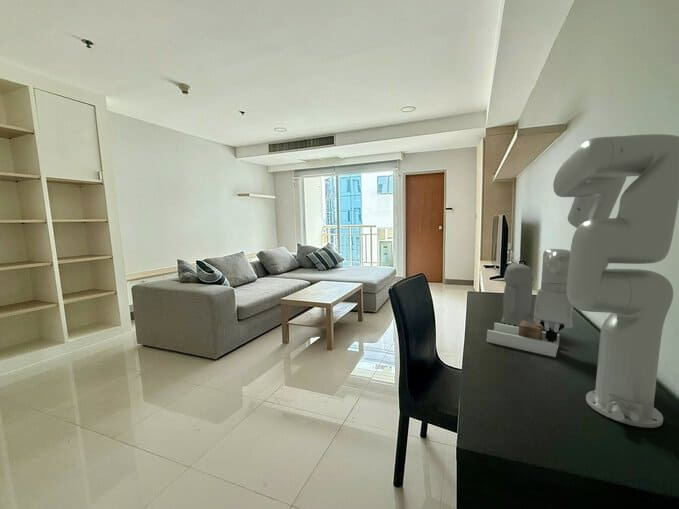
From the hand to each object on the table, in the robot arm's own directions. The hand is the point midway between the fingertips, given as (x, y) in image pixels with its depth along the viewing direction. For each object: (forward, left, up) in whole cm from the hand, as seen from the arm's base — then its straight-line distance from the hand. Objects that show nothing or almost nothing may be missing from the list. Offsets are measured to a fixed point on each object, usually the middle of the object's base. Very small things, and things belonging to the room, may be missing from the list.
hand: (550, 342), depth 102 cm
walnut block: (0, +6, -1) cm, 6 cm away
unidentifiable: (+25, +14, -3) cm, 29 cm away
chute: (0, +8, -3) cm, 9 cm away
